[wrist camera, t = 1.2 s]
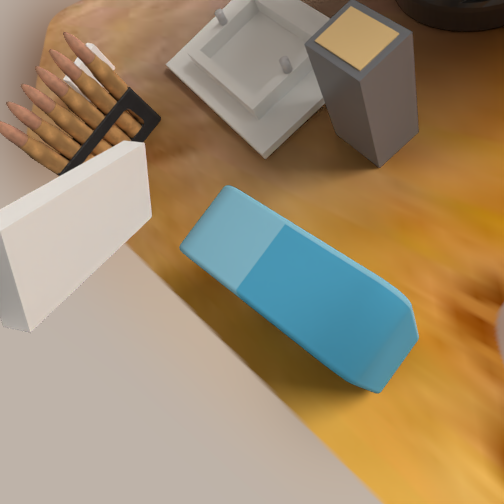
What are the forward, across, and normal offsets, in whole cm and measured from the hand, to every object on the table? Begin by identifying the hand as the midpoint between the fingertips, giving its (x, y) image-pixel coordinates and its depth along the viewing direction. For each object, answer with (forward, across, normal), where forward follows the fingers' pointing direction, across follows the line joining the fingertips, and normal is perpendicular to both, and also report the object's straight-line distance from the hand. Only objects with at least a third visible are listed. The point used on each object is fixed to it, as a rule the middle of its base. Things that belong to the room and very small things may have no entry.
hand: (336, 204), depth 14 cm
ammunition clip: (+26, -23, -9) cm, 36 cm away
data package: (+13, 0, -14) cm, 19 cm away
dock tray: (+31, -10, 0) cm, 32 cm away
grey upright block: (+23, +2, -4) cm, 24 cm away
